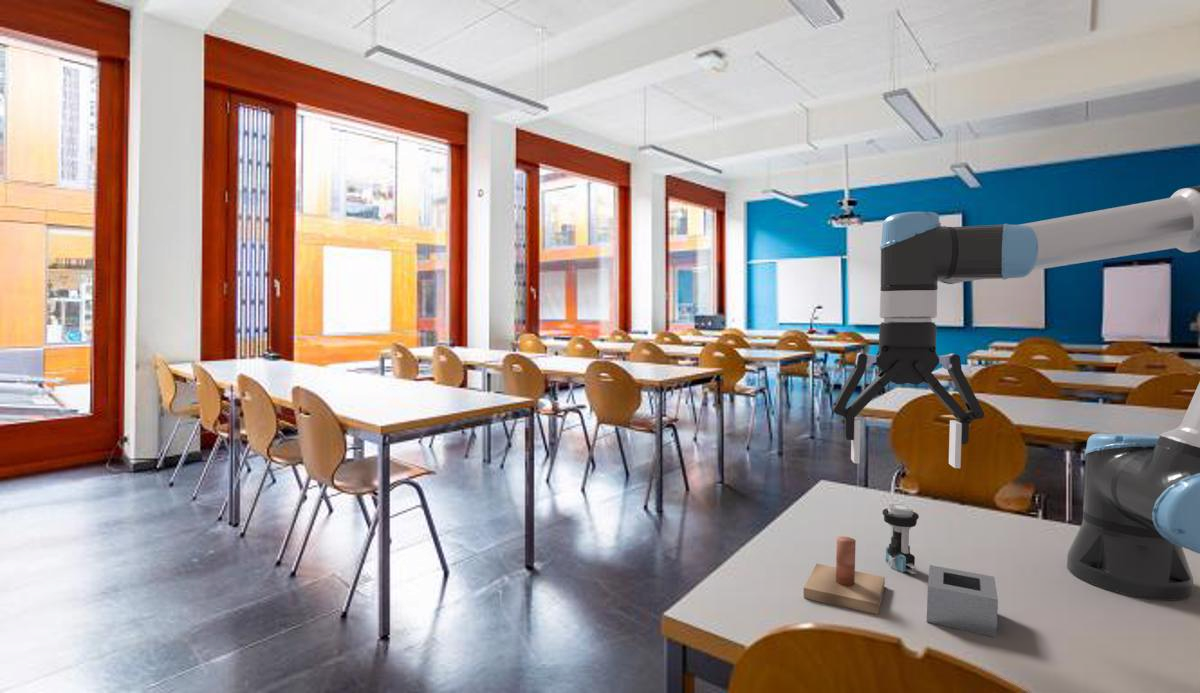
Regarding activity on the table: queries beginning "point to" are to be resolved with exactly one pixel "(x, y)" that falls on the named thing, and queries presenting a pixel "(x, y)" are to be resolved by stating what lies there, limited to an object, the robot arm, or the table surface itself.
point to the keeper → (845, 582)
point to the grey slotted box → (962, 600)
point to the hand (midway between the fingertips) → (904, 463)
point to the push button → (900, 536)
